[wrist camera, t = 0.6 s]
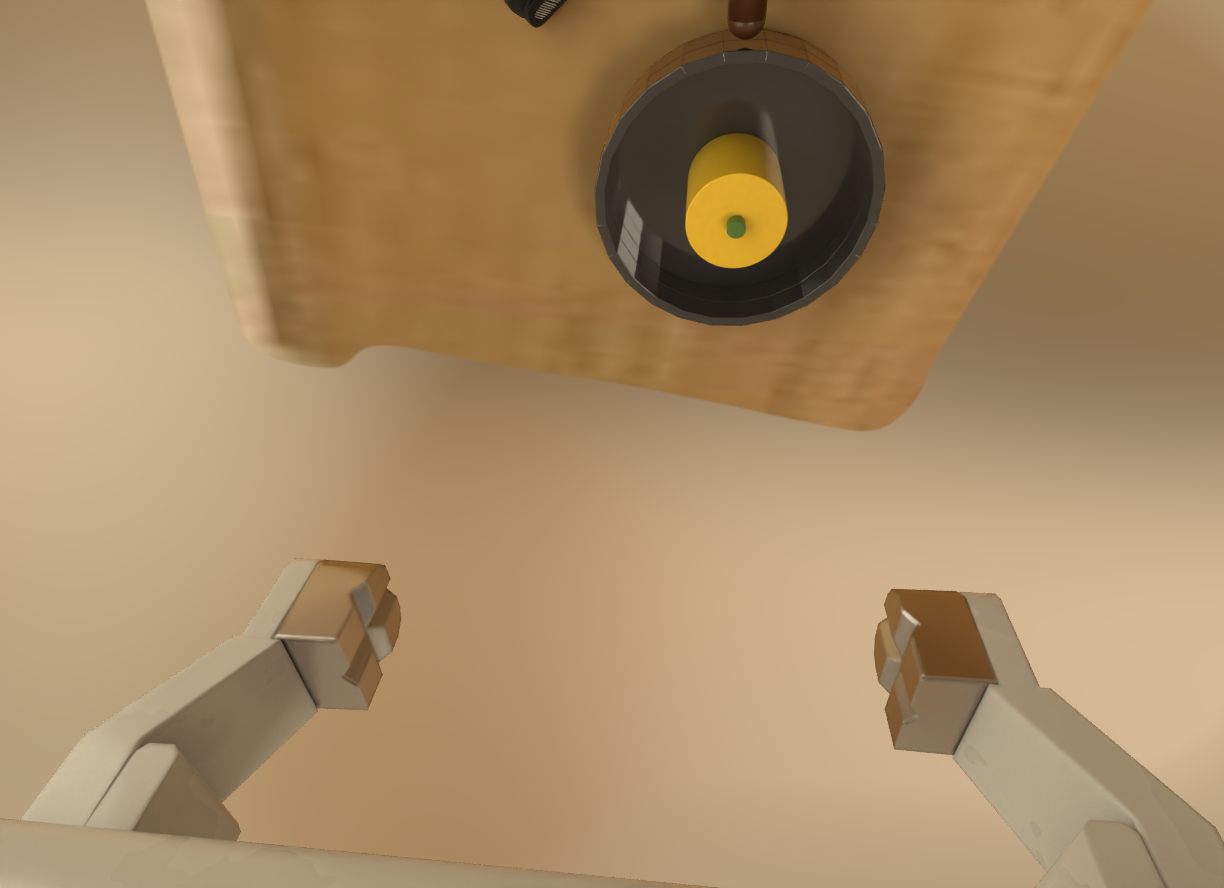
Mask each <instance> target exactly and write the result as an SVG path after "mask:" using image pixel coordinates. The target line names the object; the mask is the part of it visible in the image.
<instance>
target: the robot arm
mask: <svg viewBox="0 0 1224 888" xmlns="http://www.w3.org/2000/svg"><path fill="white" fill-rule="evenodd" d="M389 581H390V576H389V573H388V571H387V569H386V566H385V565H381V564H372V563H359V562H345V561H333V560H316V559H301V558H295V559H294V560H292V561H291V562H289V563H288V564H287V565H286V566H285V568H284V569H283V571H282V572H281V574H280V576H279V577H278V579H277V580H276V582H275V583H274V585H273V587H272V588H271V590H270V592H269V593H268V594H267V596H266V598H265V599H264V601H263V602H262V604H261V605H260V607H259V608H258V610H257V612H256V613H255V615H254V616H253V618H252V620H251V621H250V623H249V624H248V626H247V627H246V629H245V630H244V632H243V634H242V635H241V637H230V638H229V639H227V640H226V641H224V642H223V643H222V644H220V645H218V646H217V647H215V648H214V649H212V650H211V651H209V652H208V653H207V654H205V655H203V656H202V657H200V658H199V659H197V660H196V661H194V662H193V663H191V664H190V665H188V666H187V667H185V668H184V669H182V670H181V671H179V672H178V673H176V674H175V675H173V676H172V677H170V678H169V679H167V680H166V681H164V682H163V683H161V684H160V685H158V686H157V687H155V688H154V689H152V690H151V691H149V692H148V693H146V694H145V695H143V696H142V697H140V698H139V699H137V700H136V701H134V702H133V703H131V704H130V705H128V706H126V707H125V708H124V709H122V710H120V711H119V712H117V713H116V714H114V715H113V716H111V717H110V718H108V719H107V720H105V721H104V722H102V723H101V724H100V725H98V726H96V727H95V728H93V729H92V730H90V731H89V732H87V733H86V734H84V736H83V737H82V738H81V740H80V741H79V742H78V744H77V745H76V746H75V748H74V749H73V750H72V752H71V753H70V755H69V756H68V757H67V758H66V760H65V761H64V762H63V764H62V765H61V766H60V768H59V769H58V770H57V772H56V773H55V774H54V776H53V777H52V779H51V780H50V781H49V782H48V784H47V785H46V786H45V788H44V789H43V790H42V792H41V793H40V794H39V796H38V797H37V799H36V800H35V801H34V802H33V804H32V805H31V807H30V808H29V809H28V810H27V812H26V813H25V814H24V816H23V817H22V818H21V820H14V819H3V818H0V888H718V887H708V886H696V885H686V884H676V883H666V882H656V881H646V880H635V879H625V878H615V877H604V876H594V875H583V874H573V873H563V872H552V871H543V870H532V869H522V868H512V867H500V866H491V865H481V864H471V863H460V862H449V861H439V860H429V859H417V858H408V857H398V856H386V855H377V854H367V853H356V852H346V851H336V850H325V849H314V848H304V847H294V846H284V845H273V844H263V843H253V842H241V841H237V839H238V836H239V834H240V832H241V831H240V828H239V824H238V822H237V821H236V820H235V819H234V817H233V816H232V815H231V814H230V812H229V811H228V810H227V809H226V807H225V806H224V805H223V804H222V802H223V801H224V800H225V799H226V798H227V797H228V796H229V795H231V793H232V792H234V791H235V790H236V789H237V788H238V787H239V786H240V785H241V784H242V783H243V782H244V781H245V780H246V779H247V778H248V777H249V776H250V775H251V774H252V773H253V772H255V771H256V770H257V769H258V768H259V767H260V766H261V765H262V764H263V763H264V762H265V761H266V760H267V759H268V758H269V757H270V756H271V755H272V754H274V753H275V752H276V751H277V750H278V749H279V748H280V747H281V746H282V745H283V744H284V743H285V742H286V741H287V740H288V739H289V738H290V737H291V736H292V735H294V734H295V733H296V732H297V731H298V729H300V728H301V727H302V726H303V725H304V724H305V723H306V722H307V721H308V720H309V719H310V718H311V717H312V716H313V715H314V714H316V713H317V712H318V709H317V708H326V709H349V710H368V708H369V706H370V703H371V701H372V699H373V696H374V693H375V692H376V689H377V687H378V684H379V682H380V680H381V677H382V675H383V674H382V672H381V668H380V666H379V663H378V662H380V661H381V660H382V659H383V658H385V657H386V656H387V655H388V654H390V653H391V652H392V651H393V648H394V646H395V643H396V640H397V638H398V634H399V628H400V622H401V613H400V605H399V602H398V599H397V597H396V596H395V595H394V594H393V593H392V592H390V591H389V590H388V589H387V586H388V583H389ZM884 606H885V610H886V614H887V618H886V619H884V620H883V621H881V622H880V623H879V624H878V627H877V631H876V635H875V648H874V657H875V666H876V672H877V676H878V681H879V683H880V684H881V685H882V686H883V687H884V688H885V689H886V690H887V692H888V693H889V694H890V695H889V698H888V701H887V704H886V707H885V712H886V716H887V720H888V724H889V729H890V732H891V737H892V741H893V746H894V749H897V750H907V751H917V752H927V753H937V754H947V755H954V756H953V759H954V760H955V761H956V763H957V764H958V765H959V766H960V768H961V769H962V770H963V771H964V772H965V774H966V775H967V776H968V777H969V778H970V780H971V781H972V782H973V783H974V784H975V786H976V787H977V788H978V789H979V791H980V792H981V793H982V794H983V795H984V797H985V798H986V799H987V800H988V801H989V803H990V804H991V805H992V806H993V808H994V809H995V810H996V811H997V813H998V814H999V815H1000V816H1001V817H1002V819H1003V820H1004V821H1005V822H1006V823H1007V825H1008V826H1009V827H1010V828H1011V830H1012V831H1013V832H1014V833H1015V834H1016V836H1017V837H1018V838H1019V839H1020V840H1021V842H1022V843H1023V844H1024V845H1025V846H1026V848H1027V849H1028V850H1029V851H1030V853H1031V854H1032V855H1033V856H1034V857H1035V859H1036V860H1037V861H1038V862H1039V864H1040V865H1041V866H1042V867H1043V868H1044V870H1045V871H1046V872H1047V873H1046V874H1045V875H1044V877H1043V878H1042V879H1041V880H1040V882H1039V883H1038V884H1037V885H1036V887H1035V888H1224V841H1223V840H1222V838H1221V836H1220V834H1219V832H1218V831H1217V829H1216V827H1215V826H1213V825H1212V824H1211V823H1210V822H1209V821H1207V820H1206V819H1205V818H1204V817H1202V816H1201V815H1200V814H1199V813H1198V812H1197V811H1196V810H1194V809H1193V808H1192V807H1191V806H1189V805H1188V804H1187V803H1186V802H1185V801H1184V800H1182V799H1181V798H1180V797H1179V796H1178V795H1176V794H1175V793H1174V792H1173V791H1172V790H1171V789H1169V788H1168V787H1167V786H1166V785H1165V784H1164V783H1162V782H1161V781H1160V780H1159V779H1157V778H1156V777H1155V776H1154V775H1153V774H1152V773H1150V772H1149V771H1148V770H1147V769H1146V768H1145V767H1143V766H1142V765H1141V764H1140V763H1139V762H1137V761H1136V760H1135V759H1134V758H1133V757H1131V756H1130V755H1129V754H1128V753H1126V751H1124V750H1123V749H1122V748H1121V747H1120V746H1118V745H1117V744H1116V743H1115V742H1114V741H1112V740H1111V739H1110V738H1109V737H1108V736H1107V735H1105V734H1104V733H1103V732H1102V731H1101V730H1099V729H1098V728H1097V727H1096V726H1095V725H1093V724H1092V723H1091V722H1090V721H1089V720H1088V719H1086V718H1085V717H1084V716H1083V715H1082V714H1080V713H1079V712H1078V711H1077V710H1076V709H1074V708H1073V707H1072V706H1071V705H1070V704H1068V703H1067V702H1066V701H1065V700H1064V699H1063V698H1061V697H1060V696H1059V695H1058V694H1057V693H1056V692H1054V691H1053V690H1052V689H1050V688H1040V687H1039V684H1038V682H1037V680H1036V677H1035V675H1034V673H1033V671H1032V668H1031V667H1030V664H1029V662H1028V660H1027V657H1026V655H1025V653H1024V651H1023V648H1022V646H1021V644H1020V641H1019V639H1018V637H1017V634H1016V632H1015V630H1014V628H1013V626H1012V623H1011V621H1010V619H1009V617H1008V614H1007V612H1006V610H1005V607H1004V605H1003V603H1002V601H1001V599H1000V598H999V597H998V596H997V595H996V594H992V593H970V592H959V593H958V592H956V591H934V590H907V589H891V590H890V592H889V593H888V594H887V597H886V600H885V603H884Z"/></svg>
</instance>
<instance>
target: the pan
mask: <svg viewBox="0 0 1224 888" xmlns="http://www.w3.org/2000/svg"><path fill="white" fill-rule="evenodd" d="M732 133H744V134H749V135H752V136H755V137H757V138H759V139H761V140H763V141H764V142H766V143H767V144H768V145H769V146H770V147H771V149H772V150H773V151H774V153H775V154H776V156H777V158H778V161H779V165H780V169H781V175H782V181H783V187H784V193H785V199H786V205H787V212H788V223H787V228H786V231H785V234H784V236H783V238H782V240H781V242H780V244H779V245H778V246H777V248H776V249H775V250H774V251H773V252H772V253H771V254H770V255H769V256H767V257H766V258H764V259H763V260H761V261H759V262H758V263H755V264H753V265H750V266H747V267H741V268H725V267H720V266H716V265H714V264H711V263H709V262H708V261H706V260H704V259H703V258H702V257H700V256H699V255H698V254H697V253H696V252H695V250H694V249H693V248H692V246H691V244H690V242H689V240H688V237H687V234H686V229H685V218H686V202H687V186H688V174H689V170H690V167H691V164H692V162H693V160H694V158H695V156H696V155H697V153H698V152H699V151H700V150H701V149H702V148H703V147H704V146H705V145H706V144H707V143H709V142H710V141H712V140H714V139H716V138H717V137H720V136H723V135H726V134H732ZM884 192H885V174H884V159H883V150H882V146H881V143H880V141H879V138H878V136H877V133H876V131H875V128H874V125H873V123H872V120H871V118H870V115H869V113H868V111H867V108H866V106H865V104H864V102H863V100H862V97H861V95H860V93H859V91H858V89H857V88H856V87H855V85H854V84H853V83H852V82H851V80H850V79H849V78H848V76H847V75H846V73H845V72H844V71H843V70H842V69H841V68H840V67H839V66H838V64H837V63H836V62H834V60H832V59H831V58H829V57H828V56H827V55H825V54H824V53H823V52H822V51H820V50H819V49H818V48H816V47H814V46H812V45H810V44H808V43H806V42H805V41H803V40H801V39H798V38H795V37H792V36H789V35H787V34H784V33H779V32H774V31H769V30H763V29H762V30H761V31H760V33H759V34H758V35H756V36H755V37H753V38H751V39H748V40H743V39H739V38H737V37H735V36H734V35H733V34H732V33H731V31H730V30H727V31H721V32H717V33H713V34H709V35H706V36H702V37H700V38H698V39H695V40H693V41H690V42H688V43H685V44H684V45H682V46H680V47H678V48H677V49H675V50H673V51H671V52H670V53H668V54H667V55H665V56H664V57H663V58H661V59H660V60H659V61H658V62H656V63H655V64H654V65H652V66H651V67H650V68H649V69H648V70H647V71H646V72H645V73H644V74H643V75H642V76H641V77H640V78H639V79H638V81H637V82H636V83H635V85H634V86H633V87H632V89H631V90H630V91H629V92H628V93H627V95H626V96H625V98H624V99H623V101H622V104H621V106H620V107H619V109H618V111H617V113H616V116H615V118H614V120H613V122H612V124H611V126H610V128H609V131H608V134H607V137H606V141H605V144H604V148H603V151H602V155H601V159H600V164H599V169H598V174H597V180H596V185H595V205H596V218H597V225H598V229H599V232H600V235H601V238H602V240H603V243H604V246H605V249H606V251H607V254H608V256H609V258H610V260H611V261H612V263H613V264H614V265H615V267H616V268H617V270H618V271H619V273H620V274H621V275H622V277H623V278H624V280H625V281H626V283H628V284H629V285H630V286H631V287H632V288H633V289H634V290H636V291H637V292H638V293H639V294H640V295H642V296H643V297H644V298H645V299H646V300H647V301H649V302H650V303H651V304H653V305H655V306H657V307H659V308H661V309H663V310H665V311H667V312H669V313H671V314H673V315H675V316H677V317H680V318H682V319H687V320H691V321H695V322H699V323H703V324H708V325H728V326H743V325H749V324H754V323H759V322H764V321H768V320H773V319H776V318H780V317H782V316H784V315H787V314H789V313H791V312H793V311H796V310H798V309H800V308H802V307H805V306H807V305H808V304H810V303H811V302H813V301H814V300H816V299H817V298H818V297H820V296H821V295H822V294H824V293H825V292H826V291H828V290H829V289H831V288H832V287H833V286H835V285H836V284H837V283H838V282H839V281H840V280H841V279H842V278H843V276H844V275H845V274H846V273H847V272H848V271H849V269H850V268H851V267H852V266H853V265H854V264H855V263H856V261H857V260H858V259H859V258H860V256H861V255H862V253H863V251H864V249H865V247H866V245H867V243H868V241H869V239H870V237H871V235H872V233H873V232H874V230H875V228H876V226H877V223H878V219H879V215H880V210H881V205H882V201H883V196H884Z"/></svg>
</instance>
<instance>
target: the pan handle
mask: <svg viewBox="0 0 1224 888" xmlns="http://www.w3.org/2000/svg"><path fill="white" fill-rule="evenodd" d="M766 11H767V0H729V2H728V26H729V29H730V31H731V33H732V34H733V35H734V36H735V37H737V38H739V39H743V40H748V39H751V38H753V37H755V36H756V35H758V34H759V33H760V31H761V30H762V28H763V27H764V24H765V20H766Z"/></svg>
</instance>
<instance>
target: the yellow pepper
mask: <svg viewBox="0 0 1224 888" xmlns="http://www.w3.org/2000/svg"><path fill="white" fill-rule="evenodd" d="M787 223H788V212H787V205H786V199H785V193H784V187H783V181H782V175H781V169H780V165H779V161H778V158H777V156H776V154H775V153H774V151H773V150H772V149H771V147H770V146H769V145H768V144H767V143H766V142H764V141H763V140H761V139H759V138H757V137H755V136H752V135H749V134H744V133H732V134H726V135H723V136H720V137H717V138H716V139H714V140H712V141H710V142H709V143H707V144H706V145H705V146H704V147H703V148H702V149H701V150H700V151H699V152H698V153H697V155H696V156H695V158H694V160H693V162H692V164H691V167H690V170H689V174H688V186H687V202H686V218H685V229H686V234H687V237H688V240H689V242H690V244H691V246H692V248H693V249H694V250H695V252H696V253H697V254H698V255H699V256H700V257H702V258H703V259H704V260H706V261H708V262H709V263H711V264H714V265H716V266H720V267H725V268H741V267H747V266H750V265H753V264H755V263H758V262H759V261H761V260H763V259H764V258H766V257H767V256H769V255H770V254H771V253H772V252H773V251H774V250H775V249H776V248H777V246H778V245H779V244H780V242H781V240H782V238H783V236H784V234H785V231H786V228H787Z"/></svg>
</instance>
